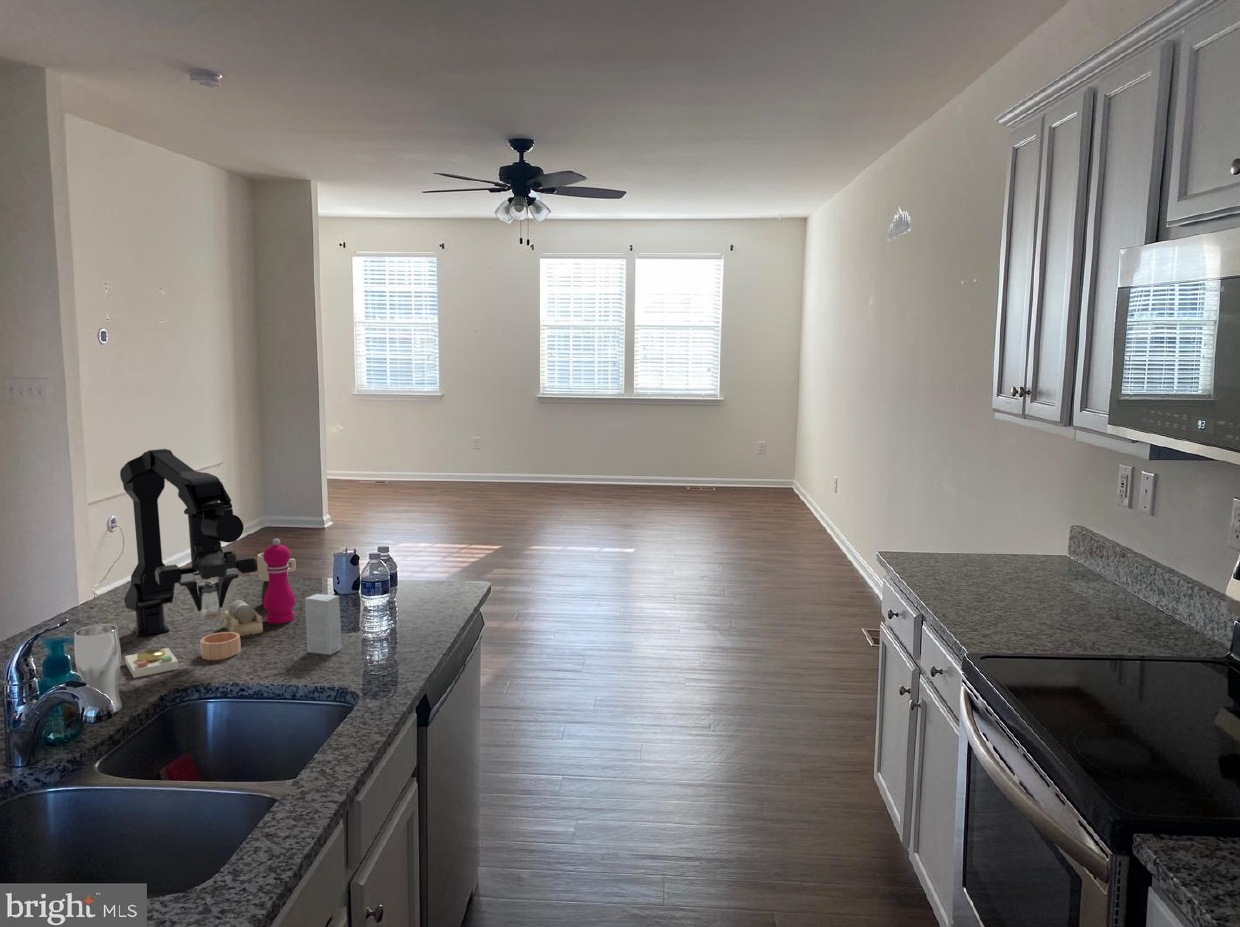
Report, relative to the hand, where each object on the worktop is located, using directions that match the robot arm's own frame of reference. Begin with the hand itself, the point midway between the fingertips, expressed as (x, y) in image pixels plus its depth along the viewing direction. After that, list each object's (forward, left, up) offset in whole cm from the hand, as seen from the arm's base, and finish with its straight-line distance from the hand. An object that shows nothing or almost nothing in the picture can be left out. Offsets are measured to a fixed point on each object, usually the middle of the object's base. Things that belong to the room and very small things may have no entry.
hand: (210, 609), depth 178 cm
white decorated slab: (-1, -11, -10) cm, 15 cm away
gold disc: (-1, -11, -8) cm, 14 cm away
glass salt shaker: (0, 0, -2) cm, 2 cm away
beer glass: (+18, -22, -10) cm, 30 cm away
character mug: (-31, +22, -10) cm, 39 cm away
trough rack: (-14, +10, -10) cm, 20 cm away
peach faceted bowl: (0, +2, -10) cm, 10 cm away
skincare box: (+12, +20, -10) cm, 25 cm away
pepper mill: (-16, +19, -10) cm, 27 cm away
